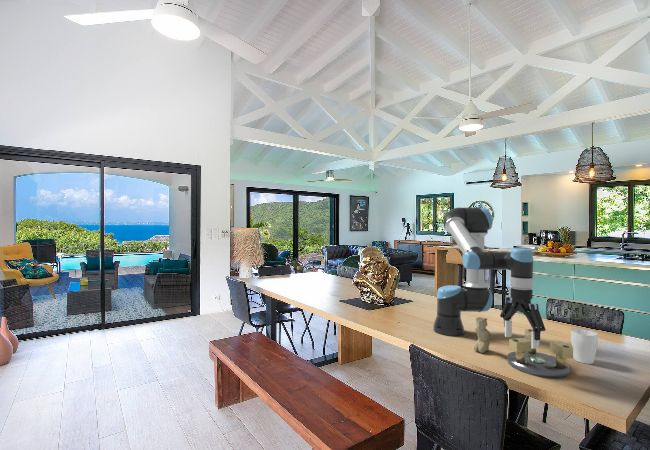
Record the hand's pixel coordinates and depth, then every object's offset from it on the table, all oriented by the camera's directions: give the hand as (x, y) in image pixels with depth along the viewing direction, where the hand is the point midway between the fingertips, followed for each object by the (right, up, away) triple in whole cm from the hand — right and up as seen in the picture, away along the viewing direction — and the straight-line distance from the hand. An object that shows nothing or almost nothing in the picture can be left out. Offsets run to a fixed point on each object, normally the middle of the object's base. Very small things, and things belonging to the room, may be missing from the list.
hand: (521, 342), depth 135 cm
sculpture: (-7, -10, +17) cm, 22 cm away
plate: (+8, -10, +2) cm, 13 cm away
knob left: (0, -8, 0) cm, 8 cm away
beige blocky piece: (+10, -8, +10) cm, 16 cm away
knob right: (+13, -8, -4) cm, 16 cm away
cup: (+30, -11, +8) cm, 33 cm away
